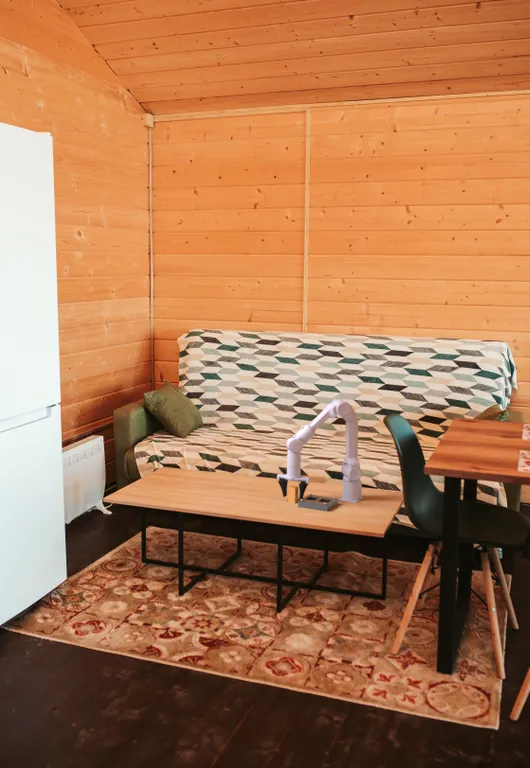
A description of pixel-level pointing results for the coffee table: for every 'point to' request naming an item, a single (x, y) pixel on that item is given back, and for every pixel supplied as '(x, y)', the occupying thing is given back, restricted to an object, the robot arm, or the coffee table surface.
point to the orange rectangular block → (293, 494)
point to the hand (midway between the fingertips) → (293, 497)
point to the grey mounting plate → (318, 502)
